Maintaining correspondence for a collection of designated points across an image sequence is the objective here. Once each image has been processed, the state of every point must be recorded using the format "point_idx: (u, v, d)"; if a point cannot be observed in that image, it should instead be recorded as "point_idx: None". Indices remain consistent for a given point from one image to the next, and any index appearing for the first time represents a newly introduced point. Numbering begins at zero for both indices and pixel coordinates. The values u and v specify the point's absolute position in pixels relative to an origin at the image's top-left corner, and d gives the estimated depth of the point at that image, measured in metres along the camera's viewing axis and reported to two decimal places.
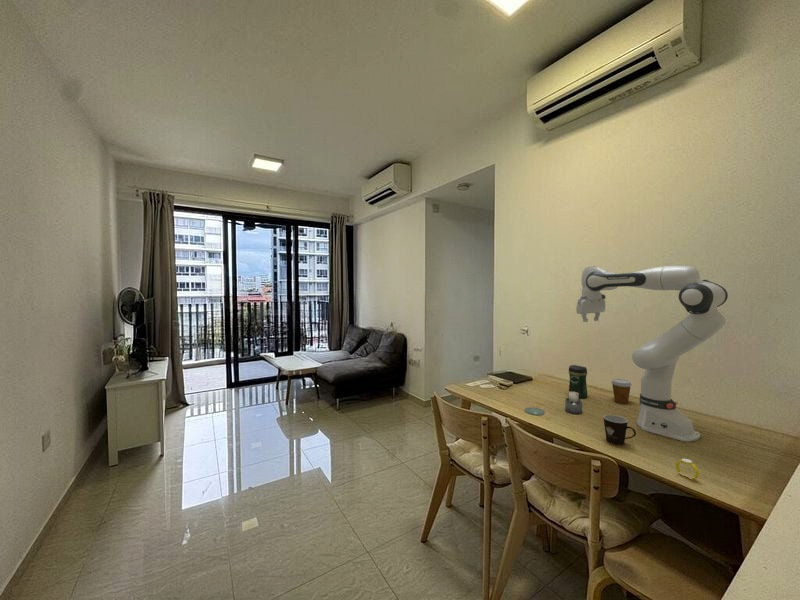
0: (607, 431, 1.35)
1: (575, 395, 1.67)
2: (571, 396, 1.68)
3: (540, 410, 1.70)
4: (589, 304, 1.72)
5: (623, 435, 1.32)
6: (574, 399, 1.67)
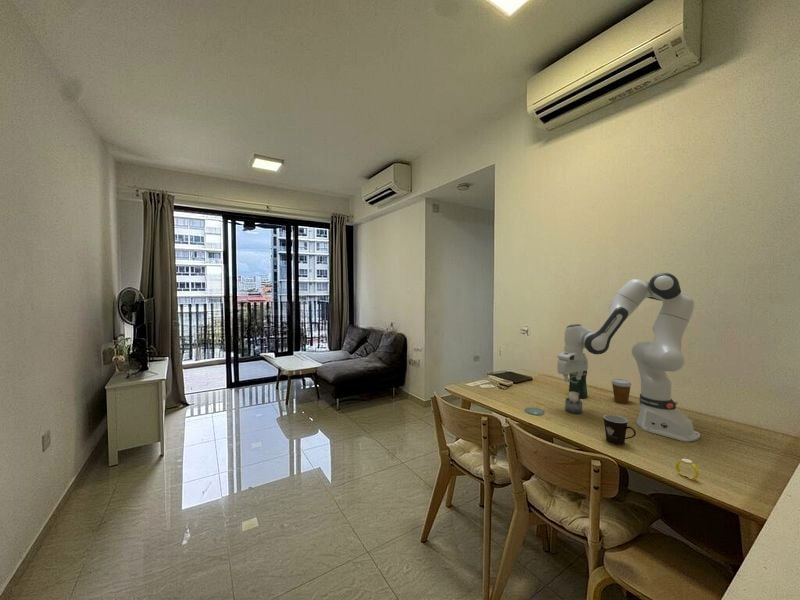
0: (607, 431, 1.35)
1: (575, 395, 1.67)
2: (571, 396, 1.68)
3: (540, 410, 1.70)
4: None
5: (623, 435, 1.32)
6: (574, 399, 1.67)
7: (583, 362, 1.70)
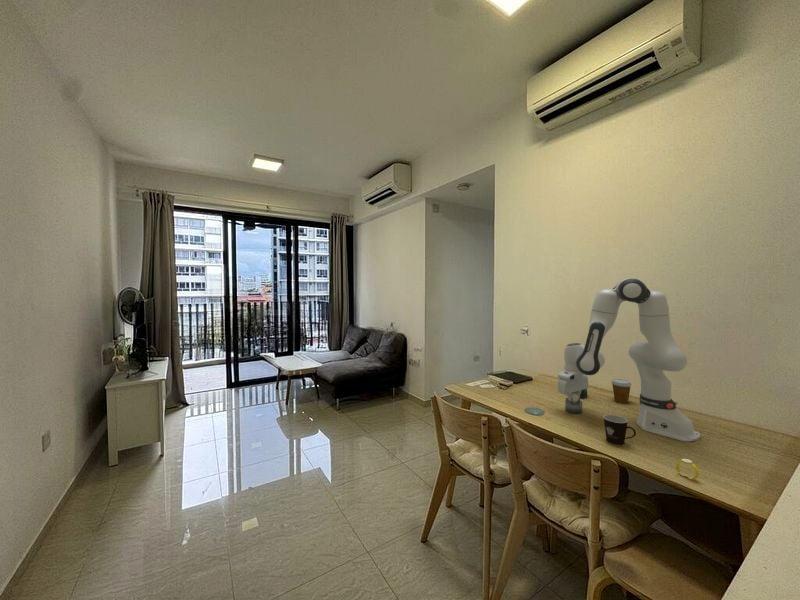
0: (607, 431, 1.35)
1: (575, 395, 1.67)
2: (571, 396, 1.68)
3: (540, 410, 1.70)
4: None
5: (623, 435, 1.32)
6: (574, 399, 1.67)
7: (583, 380, 1.70)
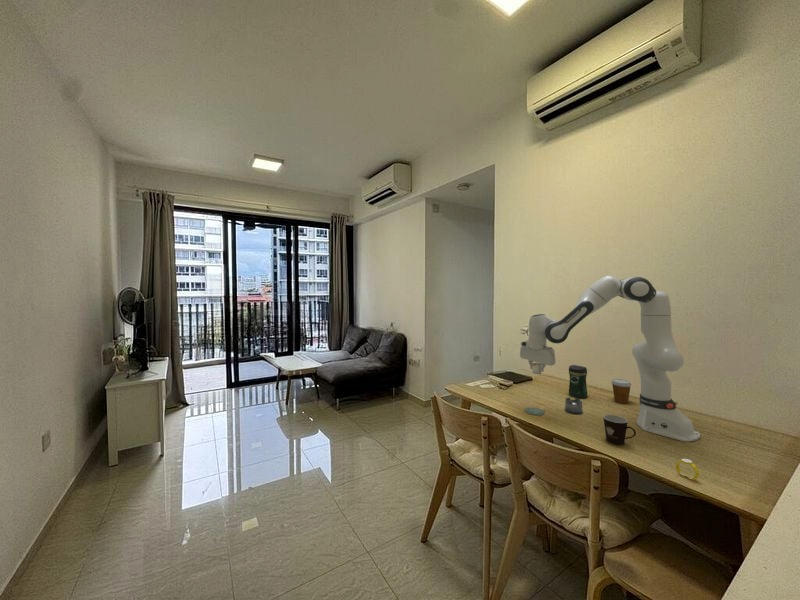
0: (607, 431, 1.35)
1: None
2: None
3: (540, 410, 1.70)
4: None
5: (623, 435, 1.32)
6: (532, 368, 1.70)
7: (544, 355, 1.63)
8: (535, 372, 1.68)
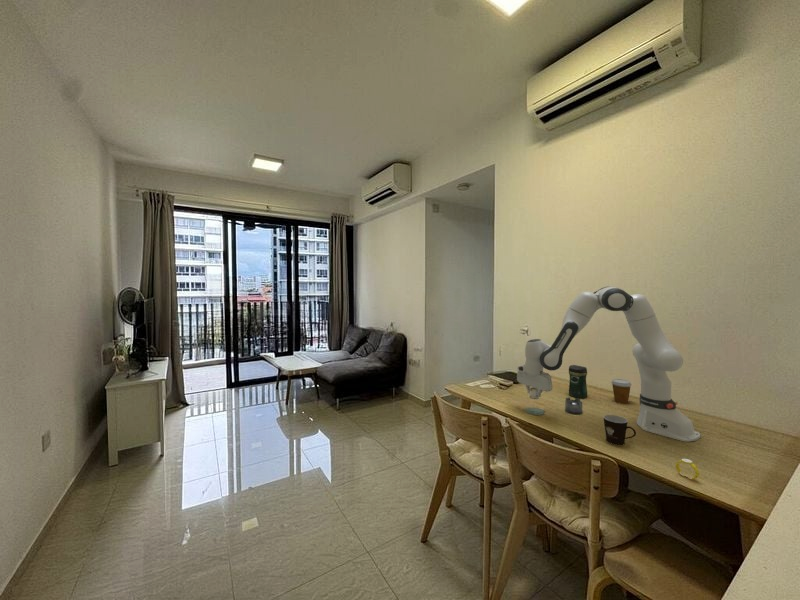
0: (607, 431, 1.35)
1: None
2: None
3: (540, 410, 1.70)
4: None
5: (623, 435, 1.32)
6: None
7: (541, 381, 1.63)
8: (532, 397, 1.68)
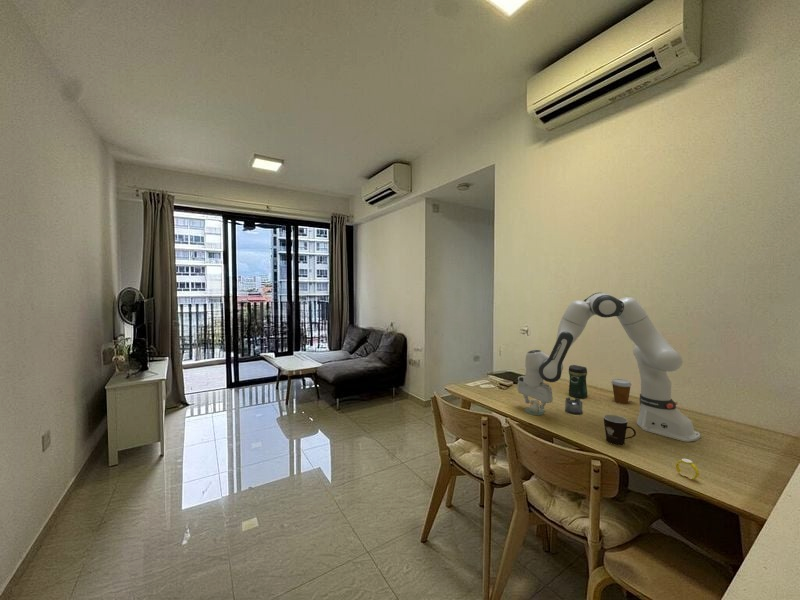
0: (607, 431, 1.35)
1: None
2: None
3: (540, 410, 1.70)
4: None
5: (623, 435, 1.32)
6: (530, 406, 1.71)
7: (542, 392, 1.63)
8: (533, 410, 1.68)
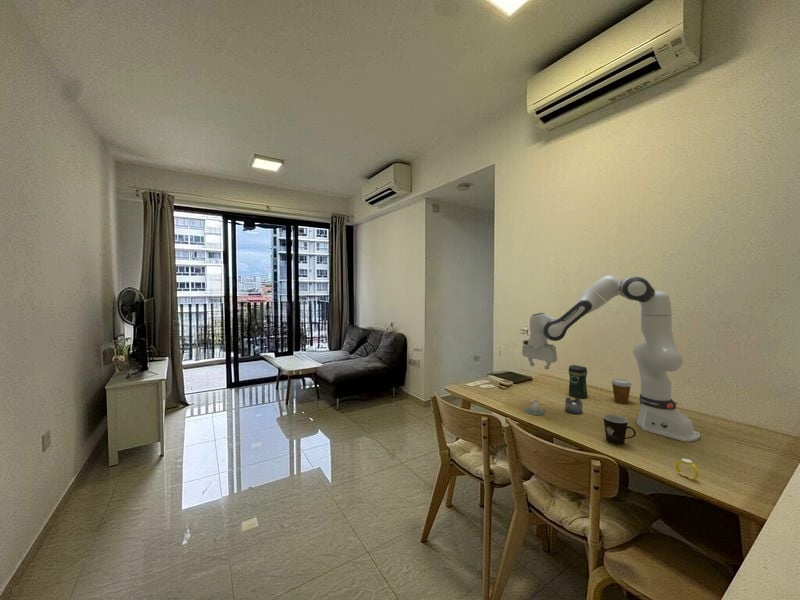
0: (607, 431, 1.35)
1: None
2: None
3: (540, 410, 1.70)
4: None
5: (623, 435, 1.32)
6: (530, 406, 1.71)
7: (546, 352, 1.68)
8: (533, 410, 1.68)
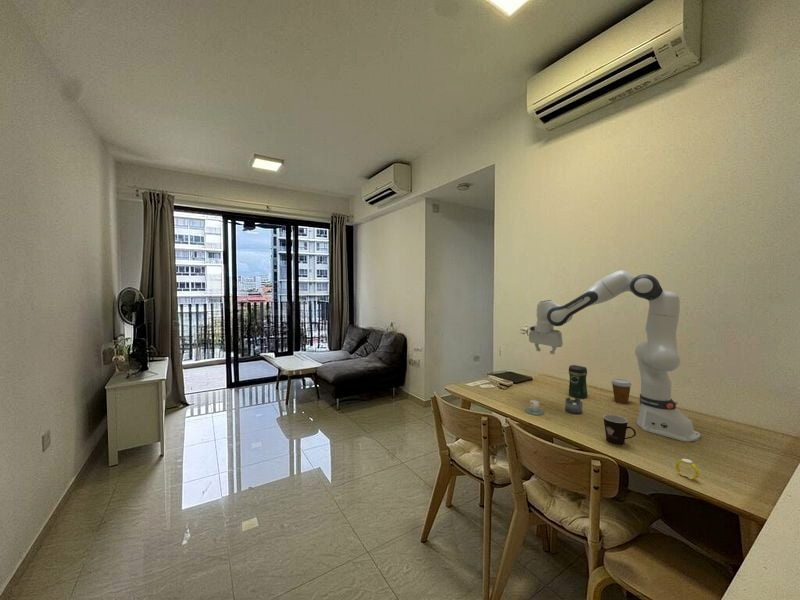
0: (607, 431, 1.35)
1: None
2: None
3: (540, 410, 1.70)
4: None
5: (623, 435, 1.32)
6: (530, 406, 1.71)
7: (552, 337, 1.75)
8: (533, 410, 1.68)
